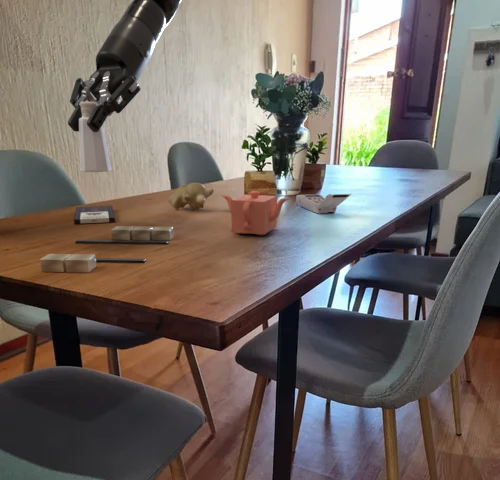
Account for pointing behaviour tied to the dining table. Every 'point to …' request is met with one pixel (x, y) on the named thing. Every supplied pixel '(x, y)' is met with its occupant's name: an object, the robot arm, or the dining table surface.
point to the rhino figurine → (190, 196)
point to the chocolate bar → (94, 214)
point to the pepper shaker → (92, 144)
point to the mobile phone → (321, 202)
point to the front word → (77, 262)
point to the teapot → (254, 213)
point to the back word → (136, 235)
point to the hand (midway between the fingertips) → (82, 127)
